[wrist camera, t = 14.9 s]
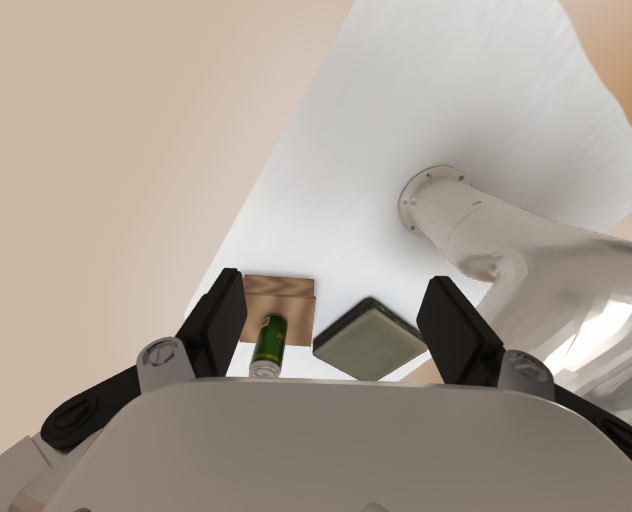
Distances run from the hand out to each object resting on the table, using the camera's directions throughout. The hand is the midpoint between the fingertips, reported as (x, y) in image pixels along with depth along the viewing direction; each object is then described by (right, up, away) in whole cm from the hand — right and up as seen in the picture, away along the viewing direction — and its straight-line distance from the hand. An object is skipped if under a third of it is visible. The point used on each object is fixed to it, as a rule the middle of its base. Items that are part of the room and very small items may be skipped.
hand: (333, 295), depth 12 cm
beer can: (-9, -12, +37) cm, 40 cm away
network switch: (+13, -19, +50) cm, 55 cm away
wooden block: (-9, -8, +43) cm, 45 cm away
